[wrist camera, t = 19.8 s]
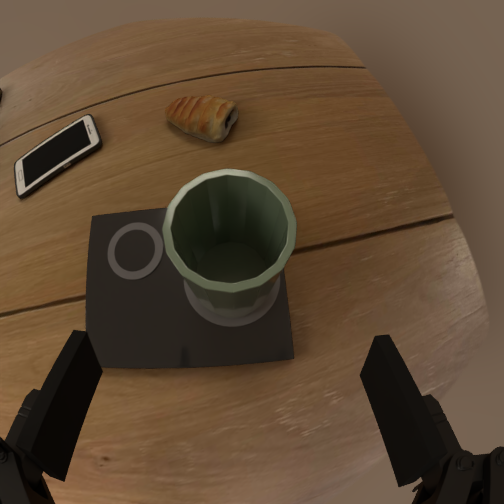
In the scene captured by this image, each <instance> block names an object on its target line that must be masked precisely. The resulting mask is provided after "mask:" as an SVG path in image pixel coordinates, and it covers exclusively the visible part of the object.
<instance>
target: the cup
mask: <svg viewBox="0 0 504 504" xmlns="http://www.w3.org/2000/svg"><path fill="white" fill-rule="evenodd" d="M296 230H297V221H296V218H295V215H294V212H293V210H292V207H291V204H290V201H289V200H288V198H287V197H286V196H285V195H284V194H283V193H282V192H281V191H280V190H279V188H278V187H277V186H276V185H275V184H274V183H272V182H271V181H269V180H267V179H265V178H263V177H261V176H259V175H257V174H255V173H253V172H251V171H245V170H236V169H222V170H217V171H213V172H208V173H204V174H202V175H200V176H199V177H197V178H195V179H194V180H192V181H191V182H189V183H187V184H186V185H184V186H183V187H182V188H181V189H180V191H179V192H178V193H177V195H176V196H175V197H174V198H173V200H172V201H171V202H170V204H169V206H168V208H167V212H166V216H165V220H164V224H163V228H162V231H163V237H164V243H165V249H166V253H167V255H168V257H169V258H170V260H171V261H172V263H173V264H174V266H175V267H176V269H177V270H178V271H179V273H180V274H181V276H182V277H183V279H184V280H185V282H186V283H187V285H188V286H189V288H190V289H191V290H192V292H193V293H194V295H195V296H196V297H197V299H198V300H199V302H200V303H201V304H202V306H203V307H205V308H206V309H207V310H209V311H210V312H212V313H214V314H216V315H219V316H222V317H229V318H236V317H242V316H245V315H248V314H250V313H252V312H253V311H255V310H256V309H258V308H259V307H260V306H261V305H262V304H263V303H264V302H265V300H266V298H267V297H268V295H269V293H270V291H271V290H272V288H273V286H274V284H275V282H276V281H277V279H278V277H279V275H280V273H281V272H282V270H283V268H284V266H285V264H286V263H287V261H288V259H289V257H290V255H291V254H292V252H293V250H294V248H295V243H296Z"/></svg>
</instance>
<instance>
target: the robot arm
mask: <svg viewBox="0 0 504 504" xmlns="http://www.w3.org/2000/svg"><path fill="white" fill-rule="evenodd" d="M102 372H103V371H102V368H101V366H100V364H99V361H98V359H97V356H96V354H95V351H94V349H93V346H92V344H91V341H90V338H89V336H88V333H87V332H86V331H78V330H73V332H72V334H71V335H70V337H69V339H68V340H67V342H66V344H65V346H64V347H63V349H62V351H61V353H60V354H59V356H58V358H57V360H56V361H55V363H54V365H53V367H52V369H51V371H50V372H49V374H48V376H47V378H46V380H45V382H44V384H43V386H42V388H41V390H36V389H33V390H32V391H31V392H30V393H29V394H28V395H27V396H26V397H25V399H24V401H23V403H22V405H21V406H22V407H20V409H19V411H18V415H17V416H16V418H15V420H14V422H13V424H12V426H11V428H10V431H9V433H8V435H7V437H6V439H5V441H4V440H3V439H2V438H1V437H0V504H55V502H54V500H53V498H52V496H51V493H50V491H49V489H48V486H47V484H46V482H45V479H44V478H43V476H42V473H43V471H44V472H45V473H46V474H48V475H49V476H50V477H53V478H56V479H58V480H61V481H64V482H65V478H66V475H67V472H68V468H69V465H70V462H71V458H72V455H73V452H74V449H75V446H76V443H77V440H78V437H79V434H80V431H81V428H82V425H83V422H84V419H85V417H86V414H87V411H88V408H89V406H90V403H91V400H92V398H93V395H94V393H95V390H96V387H97V385H98V382H99V380H100V377H101V375H102ZM360 377H361V380H362V383H363V385H364V388H365V391H366V393H367V396H368V399H369V401H370V404H371V407H372V410H373V412H374V415H375V418H376V421H377V423H378V426H379V429H380V432H381V435H382V438H383V441H384V444H385V446H386V449H387V452H388V455H389V458H390V461H391V465H392V468H393V471H394V474H395V477H396V480H397V483H398V487H401V486H404V485H407V484H410V483H413V482H415V481H416V480H417V479H419V478H420V477H421V478H422V480H423V481H422V482H421V483H420V484H418V485H417V486H416V487H415V488H414V489H413V491H412V492H415V491H416V490H417V489H418V491H417V493H416V496H415V498H414V500H413V502H412V504H504V447H497V448H495V449H494V450H493V451H492V452H491V453H490V454H481V455H473V454H472V453H470V452H469V451H466V450H465V451H464V450H463V449H461V447H460V445H459V443H458V441H457V438H456V436H455V434H454V432H453V430H452V428H451V426H450V424H449V422H448V421H447V418H446V416H445V414H444V413H443V410H442V408H441V406H440V404H439V402H438V401H437V400H436V399H435V398H434V397H433V396H432V395H431V394H429V395H426V396H422V395H421V393H420V391H419V389H418V387H417V385H416V384H415V382H414V380H413V378H412V376H411V374H410V372H409V370H408V368H407V366H406V364H405V363H404V361H403V359H402V357H401V355H400V353H399V352H398V350H397V348H396V346H395V344H394V342H393V341H392V339H391V337H390V335H379V336H375V337H374V340H373V342H372V345H371V348H370V350H369V353H368V356H367V358H366V361H365V363H364V366H363V368H362V371H361V373H360Z"/></svg>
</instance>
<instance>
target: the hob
mask: <svg viewBox="0 0 504 504" xmlns="http://www.w3.org/2000/svg"><path fill="white" fill-rule="evenodd" d="M166 212H167V208H159V209H149V210H139V211H130V212H121V213H113V214H104V215H96V216H92V221H91V229H90V239H89V249H88V262H87V279H86V332H87V333H88V336H89V338H90V341H91V344H92V346H93V349H94V351H95V354H96V356H97V359H98V361H99V364H100V366H101V367H105V368H146V369H154V368H196V367H215V366H230V365H243V364H254V363H264V362H273V361H282V360H290V359H294V351H293V341H292V332H291V323H290V315H289V306H288V298H287V290H286V282H285V274H284V268H283V270H282V272H281V273H280V275H279V277H278V279H277V281H276V282H275V284H274V286H273V288H272V290H271V291H270V293H269V295H268V297H267V298H266V300H265V302H264V303H263V304H262V305H261V306H260V307H259V308H258V309H256V310H255V311H253V312H252V313H250V314H248V315H245V316H242V317H236V318H229V317H222V316H219V315H216V314H214V313H212V312H210V311H209V310H207V309H206V308H205V307H203V306H202V304H201V303H200V302H199V300H198V299H197V297H196V296H195V295H194V293H193V292H192V290H191V289H190V288H189V286H188V285H187V283H186V282H185V280H184V279H183V277H182V276H181V274H180V273H179V271H178V270H177V269H176V267H175V266H174V264H173V263H172V261H171V260H170V258H169V257H168V255H167V253H166V249H165V243H164V237H163V231H162V228H163V224H164V220H165V216H166Z"/></svg>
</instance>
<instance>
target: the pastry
mask: <svg viewBox="0 0 504 504" xmlns="http://www.w3.org/2000/svg"><path fill="white" fill-rule="evenodd" d="M165 114H166V118H167V120H168V121H169V122H171V123H172V124H174V125H176V127H178V128H180V129H181V130H182V131H184V133H186V134H190V135H192V136H194V137H197V138H199V139H200V138H201V139H204V140H205V141H208V142H222V141H223V140H224V139H225V137H226V136H227V135H228V133H229V130H230V128H231V125H232V124H233V123H234V122H235V121H236V119H237V118H238V108H237V105H236V104H235V103H234V102H232V101H231V102H229V101H227V100H225V99H222V98H219V97H213V96H211V95H207V96H201V97H193V96H190V97H184V98H179V99H177V100H175V101H174V102H172V103H171V104H170V106H169V107H167V108H166V109H165Z"/></svg>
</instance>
